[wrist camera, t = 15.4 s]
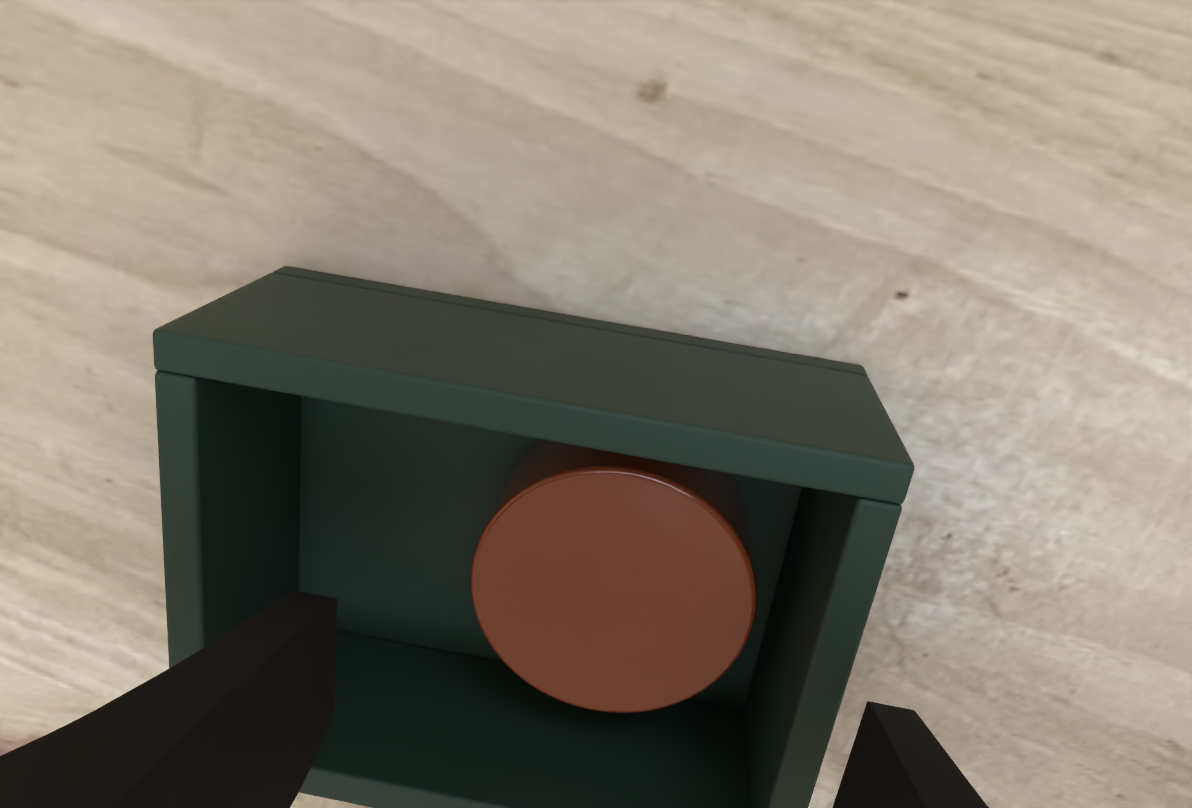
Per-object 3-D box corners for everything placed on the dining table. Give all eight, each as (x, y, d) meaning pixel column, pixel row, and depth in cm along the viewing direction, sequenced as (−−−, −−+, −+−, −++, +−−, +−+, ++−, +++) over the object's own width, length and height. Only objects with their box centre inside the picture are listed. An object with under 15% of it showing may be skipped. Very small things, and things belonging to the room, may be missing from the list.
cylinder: (722, 656, 17) (725, 739, 15) (486, 611, 17) (457, 686, 15) (775, 439, 15) (786, 498, 13) (511, 392, 15) (482, 442, 13)
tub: (765, 720, 18) (782, 893, 14) (280, 624, 18) (171, 768, 15) (864, 365, 15) (917, 466, 11) (283, 265, 15) (150, 328, 12)
